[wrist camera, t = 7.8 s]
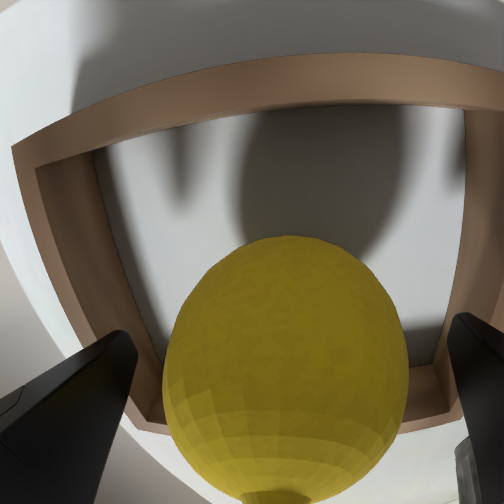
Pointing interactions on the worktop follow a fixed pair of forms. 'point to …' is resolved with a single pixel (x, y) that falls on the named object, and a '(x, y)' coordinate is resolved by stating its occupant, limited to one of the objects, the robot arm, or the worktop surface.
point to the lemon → (286, 372)
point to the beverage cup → (467, 474)
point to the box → (244, 102)
